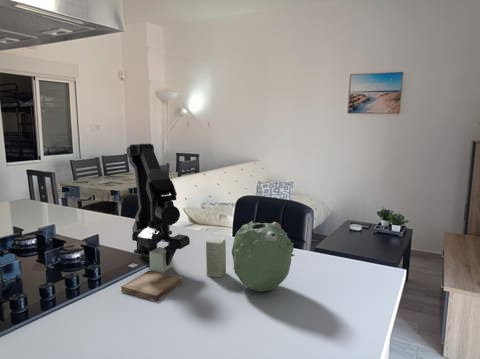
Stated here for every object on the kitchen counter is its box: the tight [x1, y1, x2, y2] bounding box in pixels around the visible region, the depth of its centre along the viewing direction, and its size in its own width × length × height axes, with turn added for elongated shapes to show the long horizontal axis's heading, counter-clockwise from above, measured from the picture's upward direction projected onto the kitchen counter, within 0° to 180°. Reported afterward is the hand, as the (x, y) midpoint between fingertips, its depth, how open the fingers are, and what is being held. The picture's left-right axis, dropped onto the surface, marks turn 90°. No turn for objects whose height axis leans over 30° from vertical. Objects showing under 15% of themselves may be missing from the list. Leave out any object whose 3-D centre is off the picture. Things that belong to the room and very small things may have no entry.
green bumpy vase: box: [231, 220, 296, 293], centre depth 102 cm, size 16×19×20 cm
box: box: [205, 237, 227, 278], centre depth 112 cm, size 5×4×11 cm
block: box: [149, 246, 173, 273], centre depth 116 cm, size 5×5×6 cm
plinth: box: [120, 270, 183, 302], centre depth 103 cm, size 12×12×2 cm
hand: (160, 263), depth 116 cm, fingers open, 5 cm apart
